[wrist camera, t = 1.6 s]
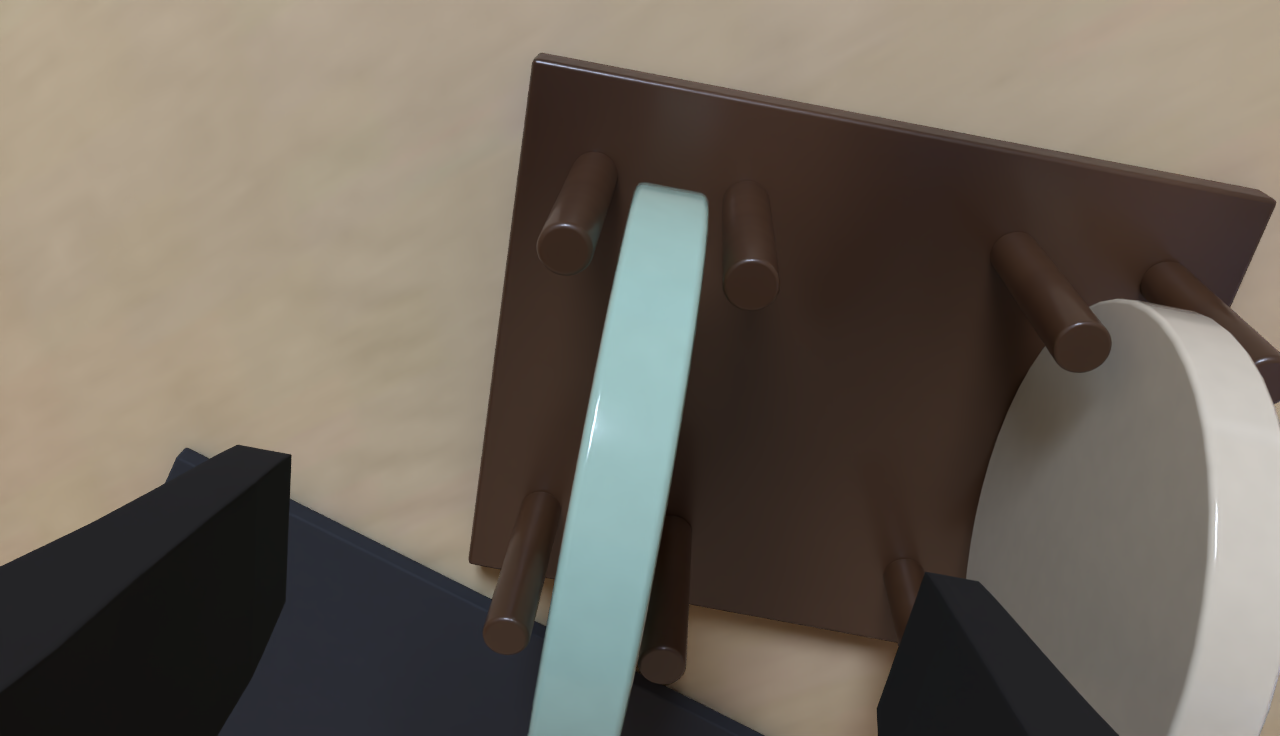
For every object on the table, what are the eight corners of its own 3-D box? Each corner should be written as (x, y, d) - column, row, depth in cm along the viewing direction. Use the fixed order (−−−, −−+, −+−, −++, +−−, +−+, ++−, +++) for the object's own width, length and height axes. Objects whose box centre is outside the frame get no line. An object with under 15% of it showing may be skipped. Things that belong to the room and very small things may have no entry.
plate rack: (1261, 189, 16) (1419, 287, 13) (1058, 653, 20) (1134, 833, 17) (538, 51, 16) (484, 109, 12) (474, 545, 20) (417, 702, 16)
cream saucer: (1132, 235, 16) (1406, 494, 10) (983, 618, 19) (1113, 1008, 13) (1073, 224, 16) (1307, 476, 10) (932, 608, 19) (1039, 993, 13)
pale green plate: (713, 127, 16) (706, 356, 9) (623, 569, 19) (564, 997, 12) (653, 116, 16) (594, 336, 9) (572, 560, 19) (484, 982, 12)
